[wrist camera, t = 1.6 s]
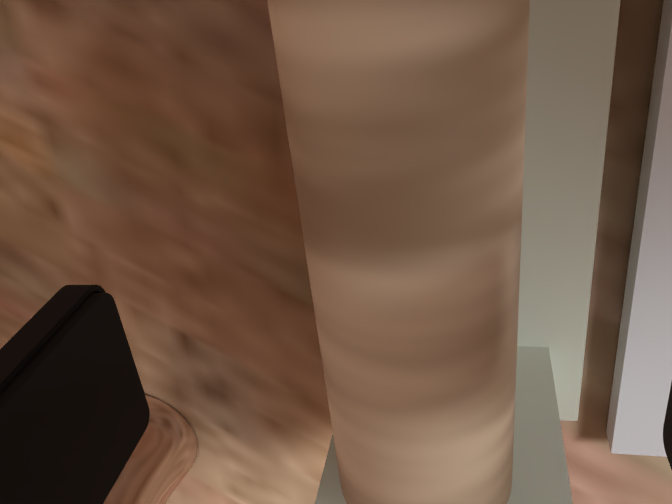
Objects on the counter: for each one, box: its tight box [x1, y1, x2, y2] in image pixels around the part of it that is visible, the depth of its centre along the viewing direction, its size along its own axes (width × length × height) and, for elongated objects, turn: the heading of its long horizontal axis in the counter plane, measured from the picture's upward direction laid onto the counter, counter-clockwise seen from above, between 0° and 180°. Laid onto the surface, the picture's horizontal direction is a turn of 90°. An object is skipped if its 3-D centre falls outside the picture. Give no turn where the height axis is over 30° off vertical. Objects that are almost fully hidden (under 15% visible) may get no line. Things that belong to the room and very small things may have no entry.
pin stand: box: [315, 0, 621, 504], centre depth 17 cm, size 10×26×11 cm, turn 6°
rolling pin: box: [267, 0, 530, 504], centre depth 14 cm, size 26×5×5 cm, turn 6°
